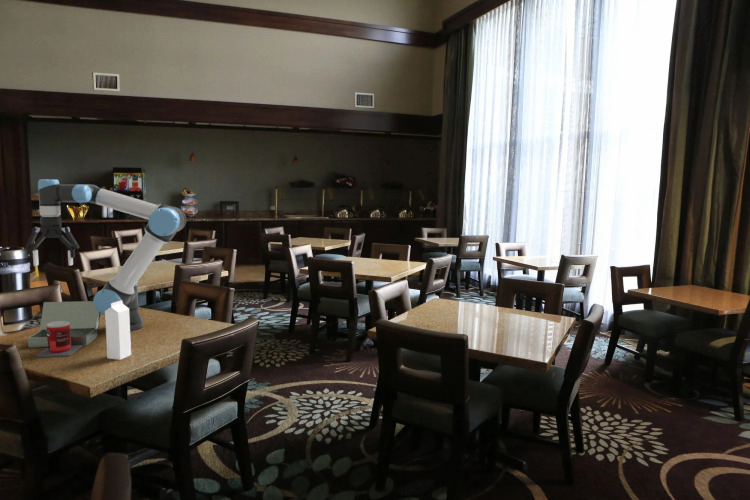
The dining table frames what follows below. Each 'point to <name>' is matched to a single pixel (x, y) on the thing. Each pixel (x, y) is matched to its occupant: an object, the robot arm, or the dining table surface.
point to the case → (79, 317)
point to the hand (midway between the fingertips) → (53, 265)
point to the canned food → (58, 336)
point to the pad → (67, 353)
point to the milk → (118, 331)
